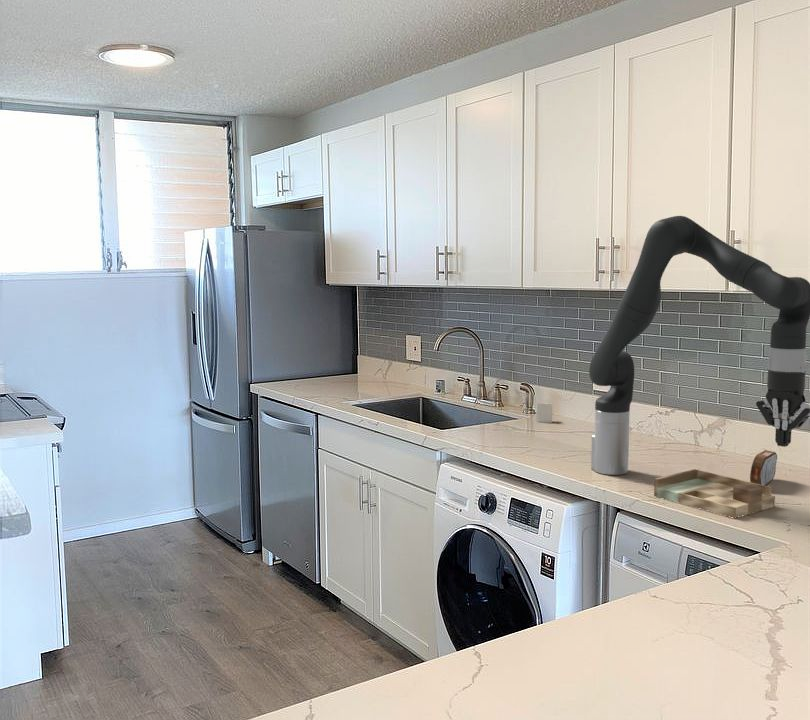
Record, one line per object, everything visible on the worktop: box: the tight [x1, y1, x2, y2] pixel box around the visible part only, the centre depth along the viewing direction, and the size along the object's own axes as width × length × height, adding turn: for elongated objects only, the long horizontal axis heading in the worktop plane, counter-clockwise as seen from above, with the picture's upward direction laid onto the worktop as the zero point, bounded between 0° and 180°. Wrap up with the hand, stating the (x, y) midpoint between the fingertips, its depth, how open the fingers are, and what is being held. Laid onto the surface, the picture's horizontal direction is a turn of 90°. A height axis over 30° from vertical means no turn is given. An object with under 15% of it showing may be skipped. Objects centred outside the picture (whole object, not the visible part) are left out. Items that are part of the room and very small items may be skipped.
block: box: [733, 484, 762, 504], centre depth 189 cm, size 4×4×3 cm
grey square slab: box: [535, 402, 558, 424], centre depth 298 cm, size 3×7×7 cm, turn 73°
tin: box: [749, 449, 778, 486], centre depth 212 cm, size 15×3×8 cm, turn 141°
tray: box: [653, 468, 776, 519], centre depth 196 cm, size 22×16×4 cm
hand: (782, 445), depth 181 cm, fingers closed
